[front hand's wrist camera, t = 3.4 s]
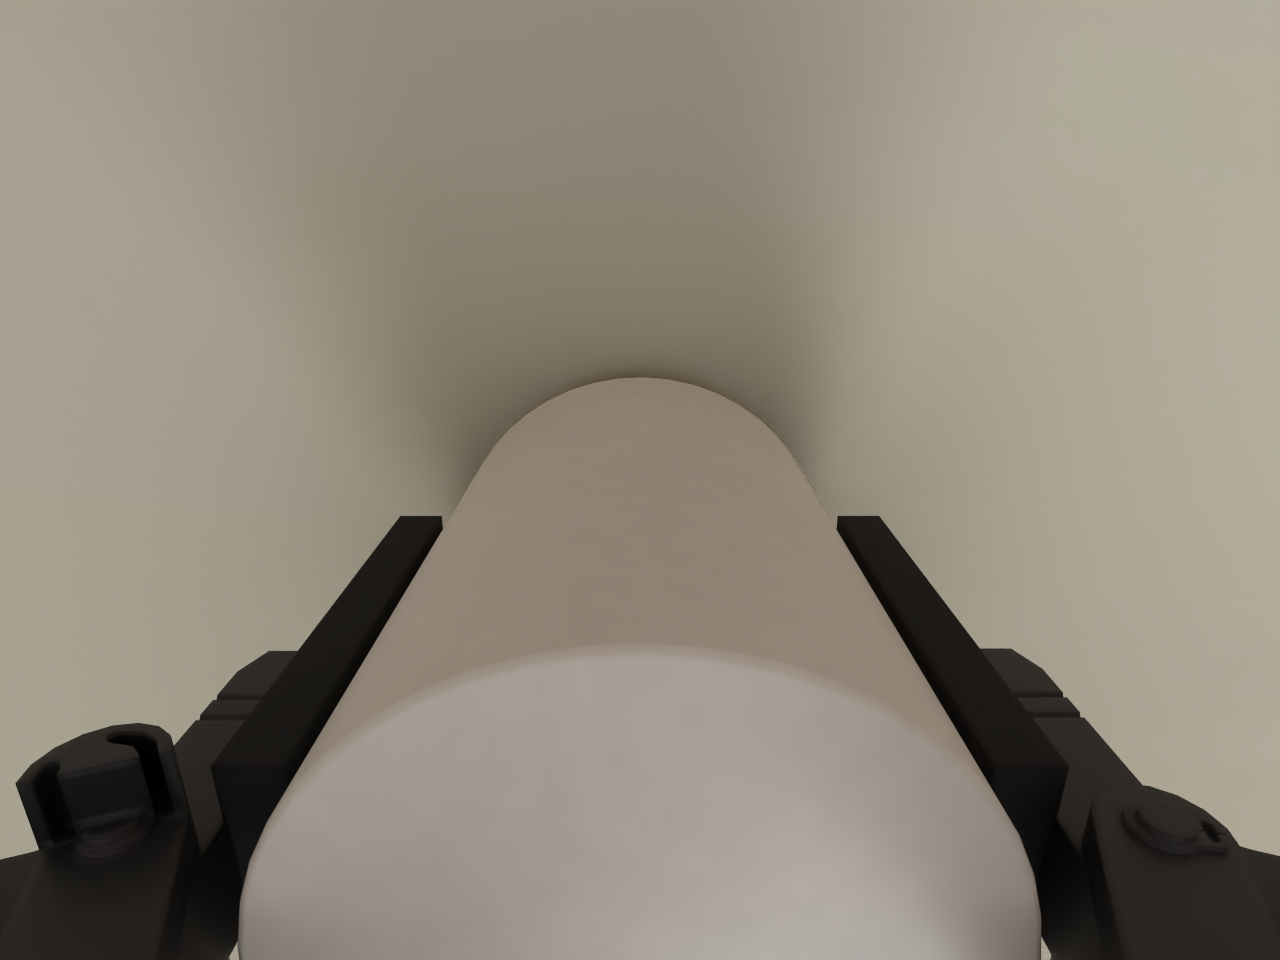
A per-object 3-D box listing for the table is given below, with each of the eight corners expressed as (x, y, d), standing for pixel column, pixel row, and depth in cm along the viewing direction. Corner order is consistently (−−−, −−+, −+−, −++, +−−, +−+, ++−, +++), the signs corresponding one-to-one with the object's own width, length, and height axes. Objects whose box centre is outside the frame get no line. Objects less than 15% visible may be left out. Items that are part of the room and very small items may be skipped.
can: (609, 296, 14) (558, 459, 5) (890, 524, 15) (1219, 948, 7) (395, 574, 16) (92, 1034, 7) (664, 751, 17) (688, 1306, 9)
